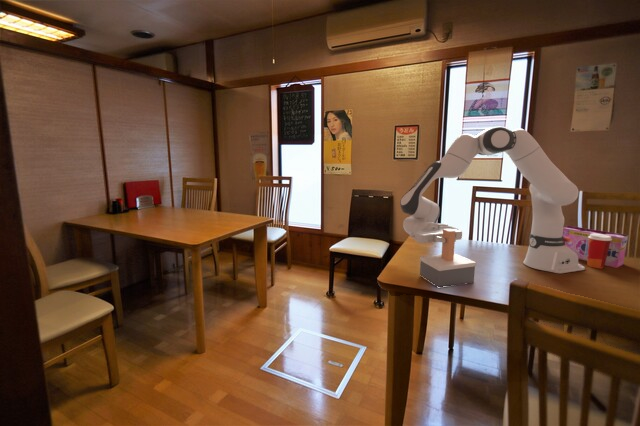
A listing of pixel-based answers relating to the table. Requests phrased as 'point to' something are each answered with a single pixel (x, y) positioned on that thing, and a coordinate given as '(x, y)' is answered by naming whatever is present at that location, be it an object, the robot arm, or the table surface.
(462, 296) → the table surface
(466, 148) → the robot arm
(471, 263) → the lid
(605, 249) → the paper cup
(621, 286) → the table surface
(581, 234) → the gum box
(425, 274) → the parts tub
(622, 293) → the table surface
